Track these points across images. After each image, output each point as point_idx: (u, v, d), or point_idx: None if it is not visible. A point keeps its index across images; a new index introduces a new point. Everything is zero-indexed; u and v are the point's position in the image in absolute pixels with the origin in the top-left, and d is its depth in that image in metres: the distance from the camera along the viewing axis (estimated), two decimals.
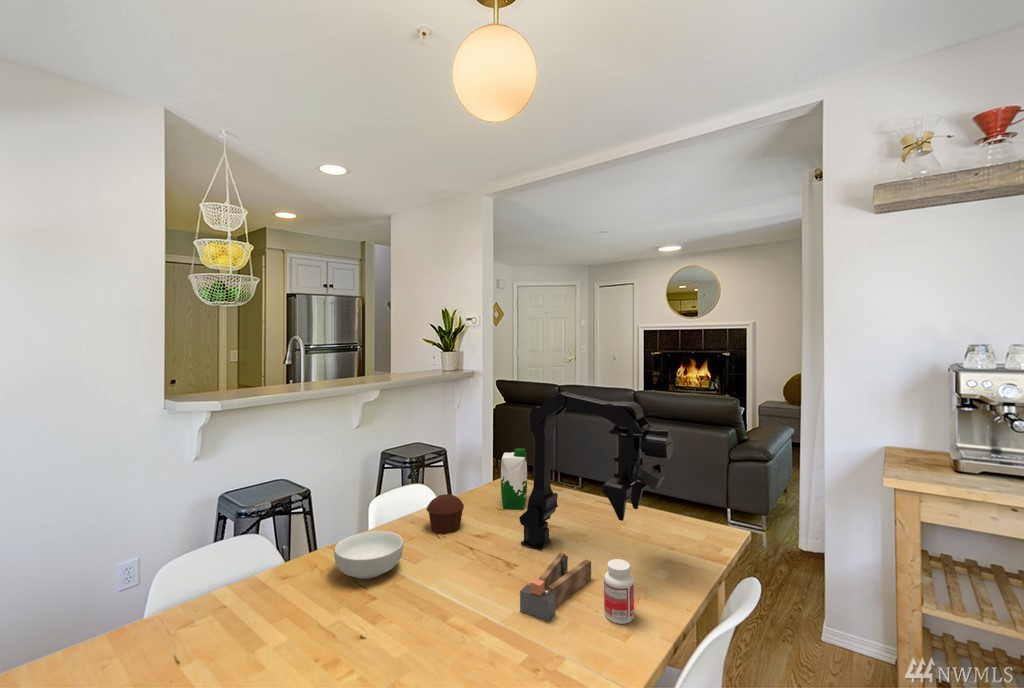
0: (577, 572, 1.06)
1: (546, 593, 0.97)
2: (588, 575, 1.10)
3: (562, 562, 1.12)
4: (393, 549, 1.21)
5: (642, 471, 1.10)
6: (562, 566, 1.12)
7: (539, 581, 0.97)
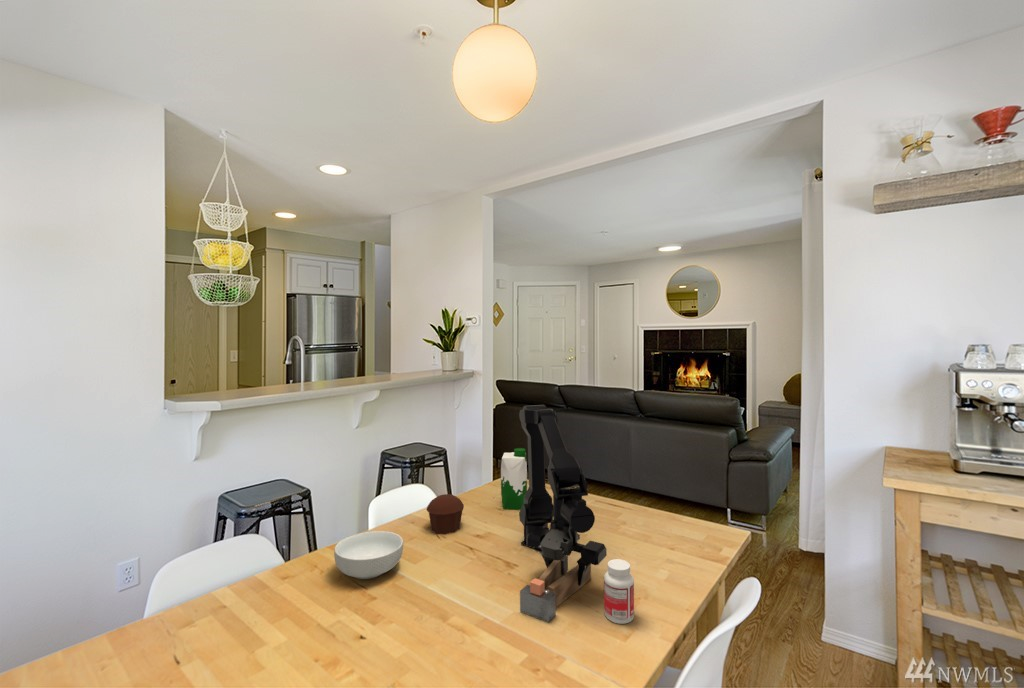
0: (577, 572, 1.06)
1: (546, 593, 0.97)
2: (588, 575, 1.10)
3: (562, 562, 1.12)
4: (393, 549, 1.21)
5: None
6: (562, 566, 1.12)
7: (539, 581, 0.97)
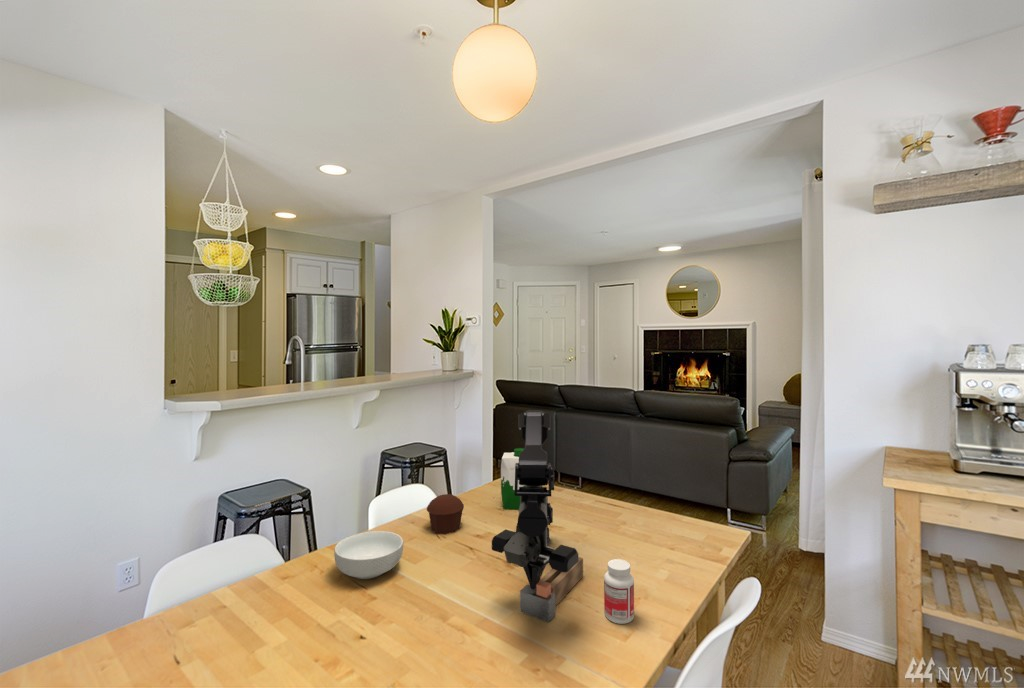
0: (572, 570, 1.07)
1: None
2: (580, 572, 1.11)
3: None
4: (393, 549, 1.21)
5: None
6: None
7: (545, 583, 0.97)
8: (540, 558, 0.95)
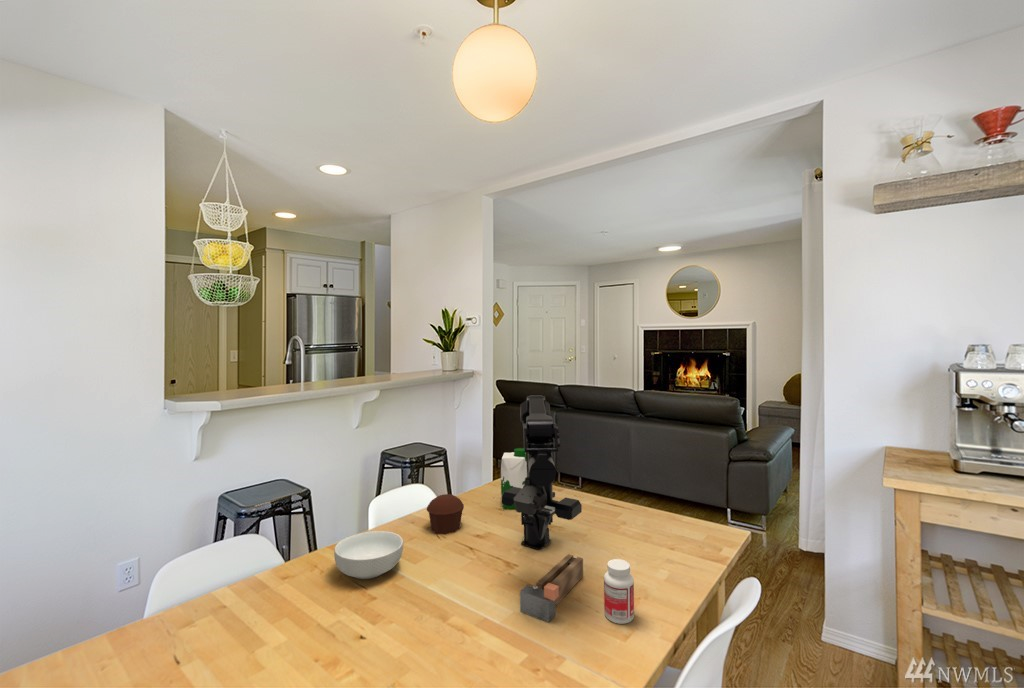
0: (572, 570, 1.07)
1: None
2: (580, 572, 1.11)
3: (569, 564, 1.11)
4: (393, 549, 1.21)
5: None
6: None
7: (553, 586, 0.96)
8: (546, 509, 1.04)
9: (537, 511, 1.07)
